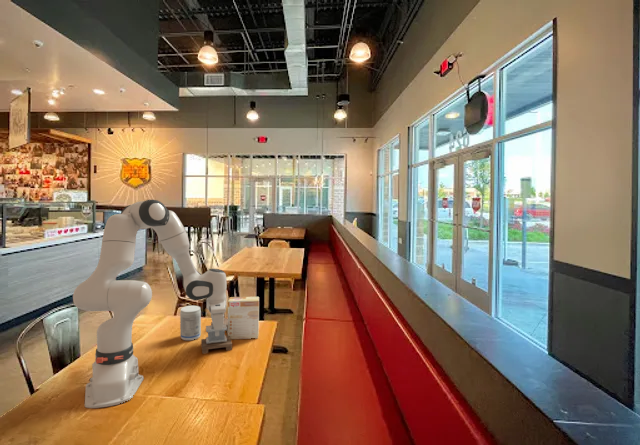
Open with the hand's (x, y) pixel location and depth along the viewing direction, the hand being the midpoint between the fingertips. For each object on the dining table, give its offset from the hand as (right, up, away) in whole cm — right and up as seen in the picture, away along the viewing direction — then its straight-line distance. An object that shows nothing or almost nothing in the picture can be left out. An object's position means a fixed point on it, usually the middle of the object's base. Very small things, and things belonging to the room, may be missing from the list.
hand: (216, 333), depth 163 cm
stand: (0, -7, +1) cm, 7 cm away
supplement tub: (-16, -6, +12) cm, 21 cm away
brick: (0, -6, +24) cm, 24 cm away
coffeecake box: (+9, -6, +14) cm, 18 cm away
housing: (0, -4, 0) cm, 4 cm away
